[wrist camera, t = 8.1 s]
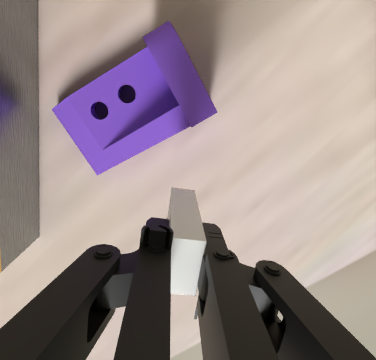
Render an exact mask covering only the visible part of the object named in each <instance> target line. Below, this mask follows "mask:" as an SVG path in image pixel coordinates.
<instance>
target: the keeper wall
mask: <svg viewBox="0 0 376 360" xmlns="http://www.w3.org/2000/svg"><path fill="white" fill-rule="evenodd" d="M38 237H39V120H38V0H0V273H1V272H2V271H3V270H4V269H5V268H6V267H7V266H8V265H9V264H10V263H11V262H12V261H13V260H15V259H16V258H17V257H18V256H19V255H20V254H21V253H22V252H23V251H24V250H25V249H26V248H27V247H29V246H30V245H31V244H32V243H33V242H34V241H35V240H36V239H37V238H38Z"/></svg>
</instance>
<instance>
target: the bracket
mask: <svg viewBox="0 0 376 360" xmlns="http://www.w3.org/2000/svg"><path fill="white" fill-rule="evenodd" d="M142 38H143V40H144V41H145V43H146V45H147V47H146V48H144V49H143V50H141V51H140V52H138V53H136V54H135V55H133V56H132V57H130V58H128V59H127V60H125V61H124V62H122V63H120V64H119V65H117V66H116V67H114V68H113V69H111V70H109V71H108V72H106V73H105V74H103V75H101V76H100V77H98V78H97V79H95V80H93V81H92V82H90V83H89V84H87V85H85V86H84V87H82V88H81V89H79V90H78V91H76V92H74V93H73V94H71V95H70V96H68V97H67V98H65V99H64V100H63V101H62V102H60V103H59V104H58V105H57V106H55V107H54V108H53V109H52V110H53V112H54V113H55V115H56V116H57V118H58V119H59V120H60V122H61V123H62V125H63V126H64V128H65V129H66V131H67V132H68V134H69V135H70V136H71V138H72V139H73V141H74V142H75V144H76V145H77V147H78V148H79V149H80V151H81V152H82V154H83V155H84V157H85V158H86V160H87V161H88V162H89V164H90V165H91V167H92V168H93V170H94V171H95V173H96V174H97V175H99V174H100V173H102V172H104V171H106V170H108V169H110V168H112V167H114V166H116V165H118V164H119V163H121V162H123V161H125V160H127V159H129V158H131V157H133V156H135V155H137V154H138V153H140V152H142V151H144V150H146V149H148V148H150V147H152V146H154V145H156V144H157V143H159V142H161V141H163V140H165V139H167V138H169V137H171V136H173V135H175V134H176V133H178V132H180V131H182V130H184V129H186V128H188V127H190V126H191V127H193V126H195V125H196V124H198V123H200V122H202V121H203V120H205V119H207V118H208V117H210V116H212V115H214V114H215V113H217V110H216V108H215V106H214V104H213V102H212V101H211V99H210V97H209V95H208V93H207V91H206V89H205V87H204V85H203V83H202V81H201V79H200V77H199V75H198V73H197V71H196V69H195V67H194V65H193V63H192V62H191V60H190V58H189V56H188V54H187V52H186V50H185V48H184V46H183V44H182V42H181V40H180V38H179V36H178V34H177V33H176V31H175V29H174V27H173V26H172V24H171V23H170V21H167V22H166V23H164V24H163V25H161V26H159V27H158V28H156V29H155V30H153V31H151V32H150V33H148V34H147V35H145V36H144V37H142ZM124 85H130V86H132V87H133V88H134V90H135V92H136V97H135V99H134V101H133V102H131V103H124V102H122V100H121V98H120V91H121V88H122V87H123V86H124ZM97 102H102V103H104V104H105V105H106V106H107V108H108V115H107V117H106V118H105V119H102V120H101V119H99V118H98V116H97V115H96V112H95V106H96V104H97Z"/></svg>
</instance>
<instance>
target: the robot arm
mask: <svg viewBox="0 0 376 360" xmlns="http://www.w3.org/2000/svg"><path fill="white" fill-rule="evenodd" d="M197 289H198V290H199V296H198V301H197V306H196V311H195V317H194V319H197V315H198V318H199V327H200V335H201V344H202V353H203V360H376V358H375V357H374V356H373V355H372V354H371V353H370V352H369V351H368V350H367V349H366V348H365V347H364V346H363V345H362V344H361V343H360V342H359V341H358V340H357V339H356V338H355V337H354V336H353V335H352V334H351V333H350V332H349V331H348V330H347V329H346V328H345V327H344V326H343V325H342V324H341V323H340V322H339V321H338V320H337V319H336V318H334V316H333V315H332V314H331V313H330V312H329V311H327V310H326V308H325V307H323V305H321V303H319V302H318V300H316V299H315V298H314V297H313V296H312V295H311V294H310V293H309V292H308V291H307V290H306V289H305V288H304V287H303V286H302V285H301V284H300V283H299V282H298V281H297V280H296V279H295V278H294V277H293V276H292V275H291V274H290V273H289V272H288V271H287V270H286V269H285V268H284V267H282V266H281V265H279V264H277V263H276V262H273V261H266V260H262V261H259V262H257V263H256V267H255V268H253V267H250V266H246V265H243V264H241V263H239V260H238V258H237V256H236V255H235V253H233V252H232V251H230V250H228V248H227V246H226V243H225V240H224V238H223V235H222V232H221V230H220V228H219V227H218V226H217V225H215V224H210V223H202V220H201V216H200V212H199V208H198V203H197V199H196V195H195V191H194V190H187V189H179V188H172V189H171V196H170V203H169V210H168V217H167V219H161V218H152V217H151V218H150V219H149V220H147V222H146V225H145V226H143V228H142V230H141V238H140V247H139V249H138V250H137V251H135V252H132V253H128V254H121V253H120V250H119V249H118V248H117V247H114V246H112V245H106V244H103V245H102V244H100V245H96V246H92V247H91V248H89V249H87V250H86V251H85V252H84V253H83V254H82V255H81V256H80V257H78V258H77V259H76V260H75V261H74V262H73V263H72V264H71V265H70V266H69V267H68V268H66V269H65V270H64V271H63V272H62V273H61V274H60V275H59V276H58V277H57V278H55V279H54V280H53V281H52V282H51V283H50V284H49V285H48V286H47V287H46V288H45V289H43V290H42V291H41V292H40V293H39V294H38V295H37V296H36V297H35V298H34V299H32V300H31V301H30V302H29V303H28V304H27V305H26V306H25V307H24V308H23V309H22V310H20V311H19V312H18V313H17V314H16V315H15V316H14V317H13V318H12V319H11V320H9V321H8V322H7V323H6V324H5V325H4V326H3V327H2V328H1V329H0V360H86V358H87V357H88V355H89V353H90V352H91V350H92V349H93V347H94V345H95V344H96V342H97V340H98V339H99V337H100V336H101V334H102V332H103V331H104V329H105V327H106V326H107V324H108V322H109V321H110V319H111V318H112V316H113V314H114V312H115V309H116V308H118V307H124V306H126V308H125V312H124V317H123V321H122V325H121V330H120V334H119V338H118V343H117V347H116V351H115V356H114V360H170V303H171V294H179V295H190V296H196V294H197ZM278 311H280V312H281V314H282V315H283V320H282V321H281V320H280V319H279V318H278V316H277V314H278Z"/></svg>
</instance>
